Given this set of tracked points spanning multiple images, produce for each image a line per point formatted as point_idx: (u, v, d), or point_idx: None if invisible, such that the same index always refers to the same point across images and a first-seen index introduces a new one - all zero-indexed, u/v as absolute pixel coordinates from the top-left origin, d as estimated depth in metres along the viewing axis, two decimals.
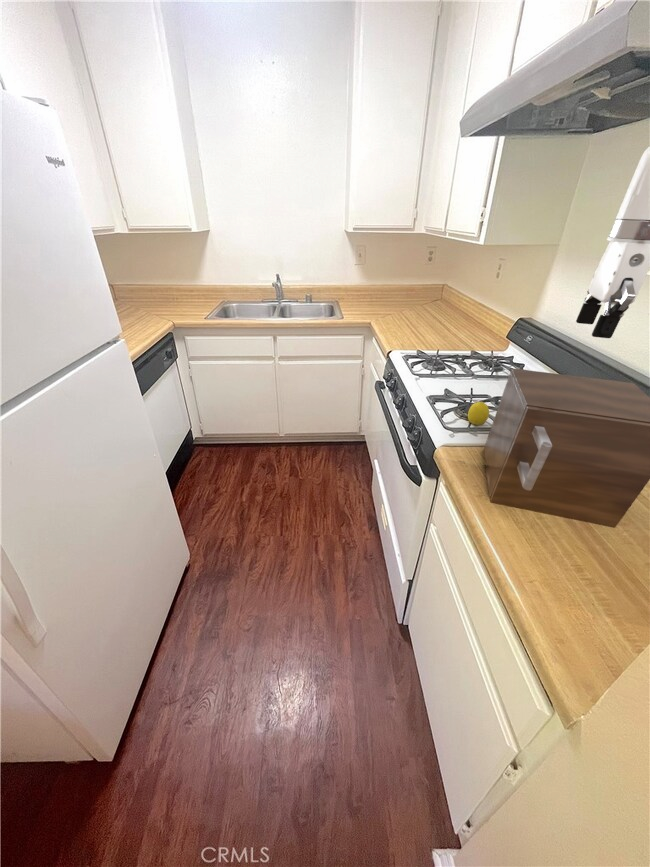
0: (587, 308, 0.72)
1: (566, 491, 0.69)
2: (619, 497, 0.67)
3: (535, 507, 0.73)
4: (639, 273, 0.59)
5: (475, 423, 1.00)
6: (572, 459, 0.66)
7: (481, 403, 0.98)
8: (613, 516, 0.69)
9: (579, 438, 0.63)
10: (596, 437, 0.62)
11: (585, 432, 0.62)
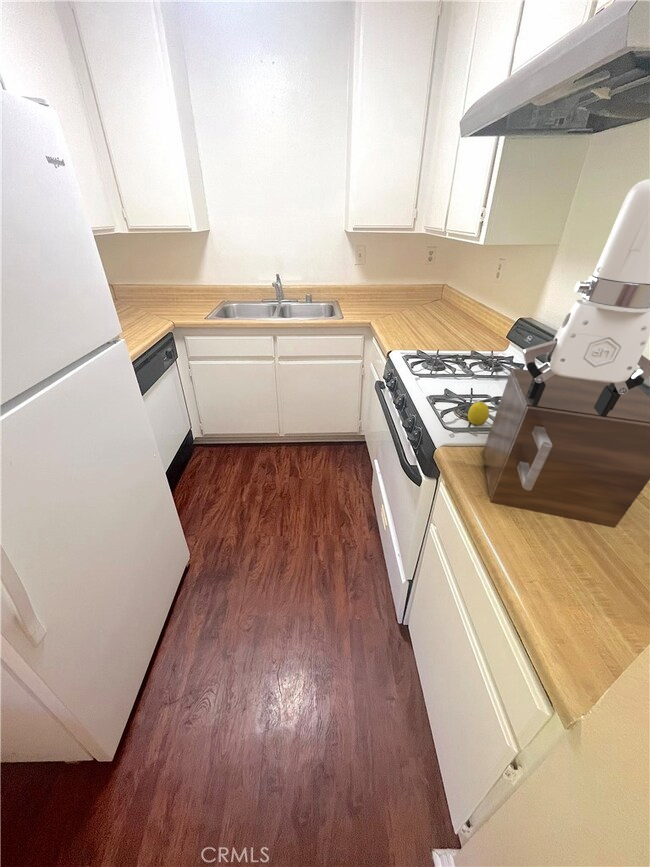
0: (604, 392, 0.53)
1: (566, 491, 0.69)
2: (619, 497, 0.67)
3: (535, 507, 0.73)
4: (561, 336, 0.49)
5: (475, 423, 1.00)
6: (572, 459, 0.66)
7: (481, 403, 0.98)
8: (613, 516, 0.69)
9: (579, 438, 0.63)
10: (596, 437, 0.62)
11: (585, 432, 0.62)
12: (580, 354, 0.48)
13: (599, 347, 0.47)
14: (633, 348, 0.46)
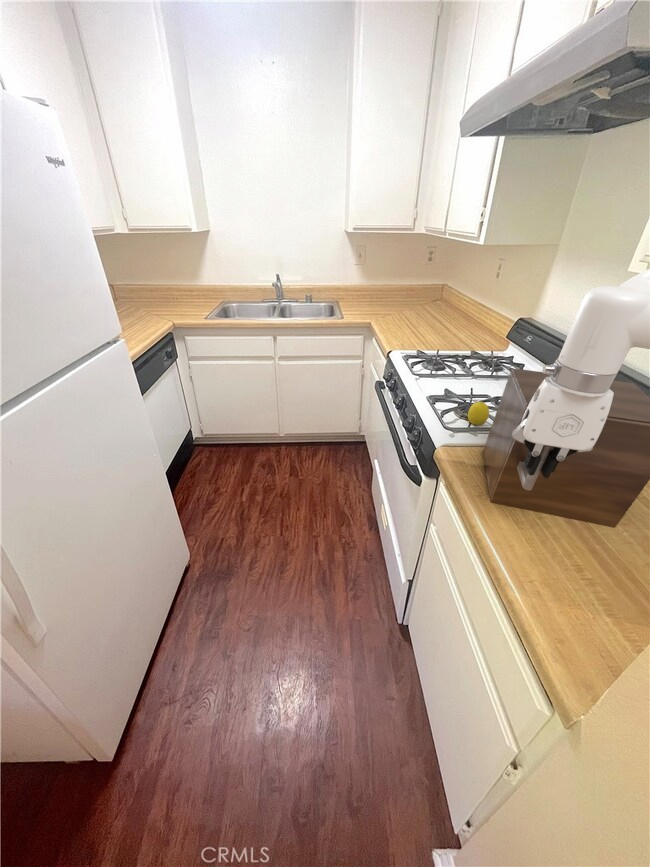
0: (547, 456, 0.60)
1: (566, 491, 0.69)
2: (619, 497, 0.67)
3: (535, 507, 0.73)
4: (532, 409, 0.55)
5: (475, 423, 1.00)
6: (572, 459, 0.66)
7: (481, 403, 0.98)
8: (613, 516, 0.69)
9: None
10: None
11: None
12: (549, 426, 0.54)
13: (565, 421, 0.53)
14: (594, 423, 0.52)
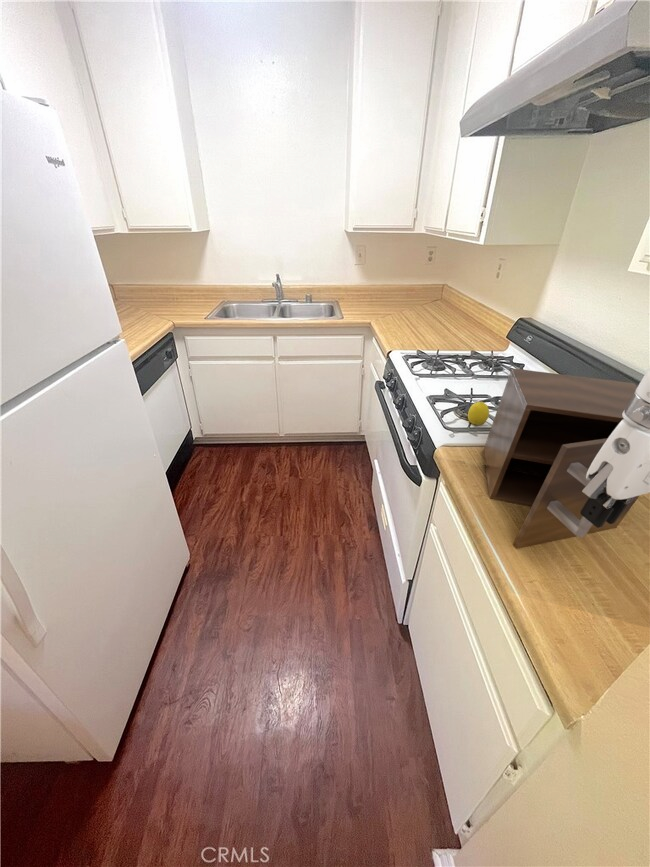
0: None
1: None
2: None
3: (556, 537, 0.67)
4: (621, 464, 0.43)
5: (475, 423, 1.00)
6: None
7: (481, 403, 0.98)
8: (617, 519, 0.69)
9: None
10: None
11: None
12: (641, 479, 0.44)
13: None
14: None
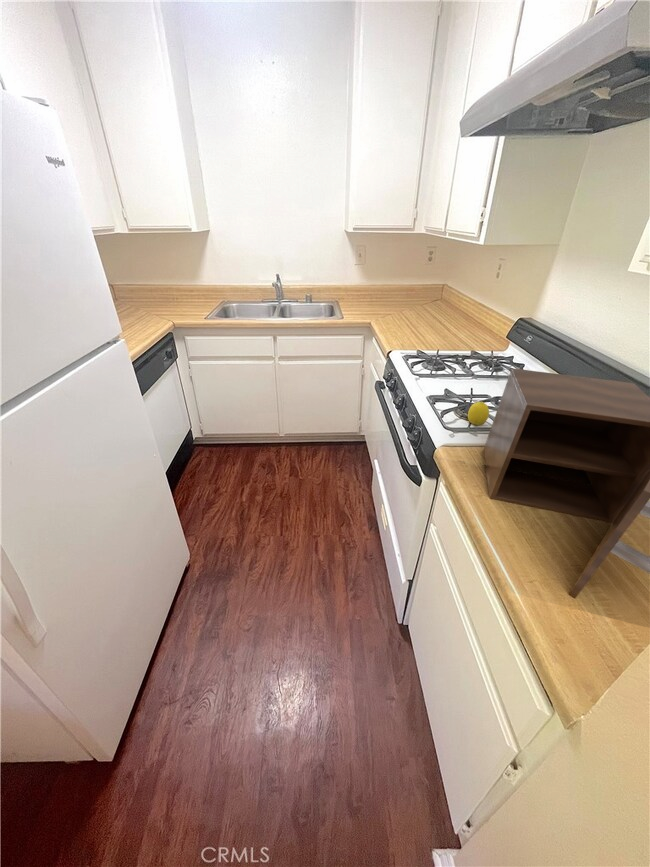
0: None
1: None
2: None
3: None
4: None
5: (475, 423, 1.00)
6: None
7: (481, 403, 0.98)
8: None
9: None
10: None
11: None
12: None
13: None
14: None
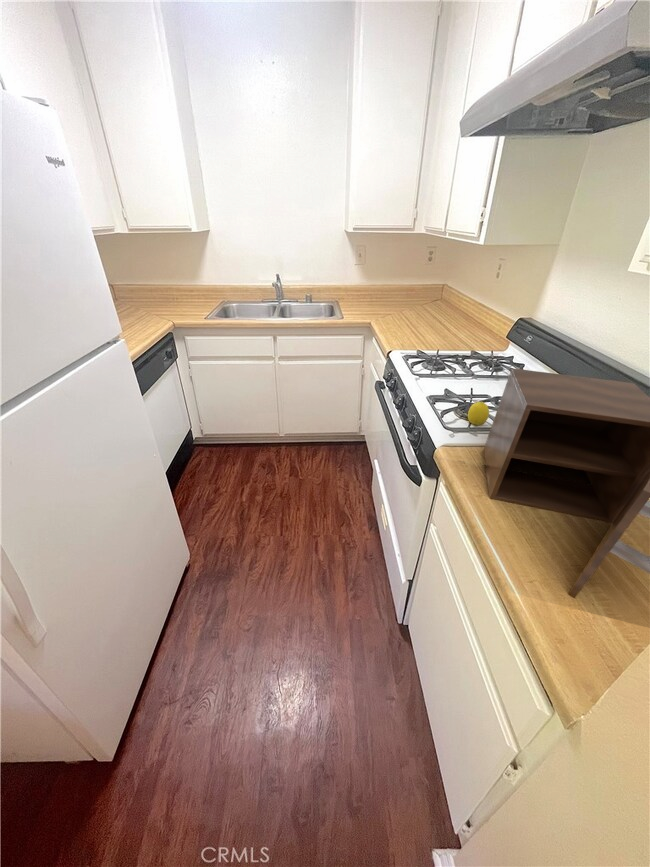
0: None
1: None
2: None
3: None
4: None
5: (475, 423, 1.00)
6: None
7: (481, 403, 0.98)
8: None
9: None
10: None
11: None
12: None
13: None
14: None
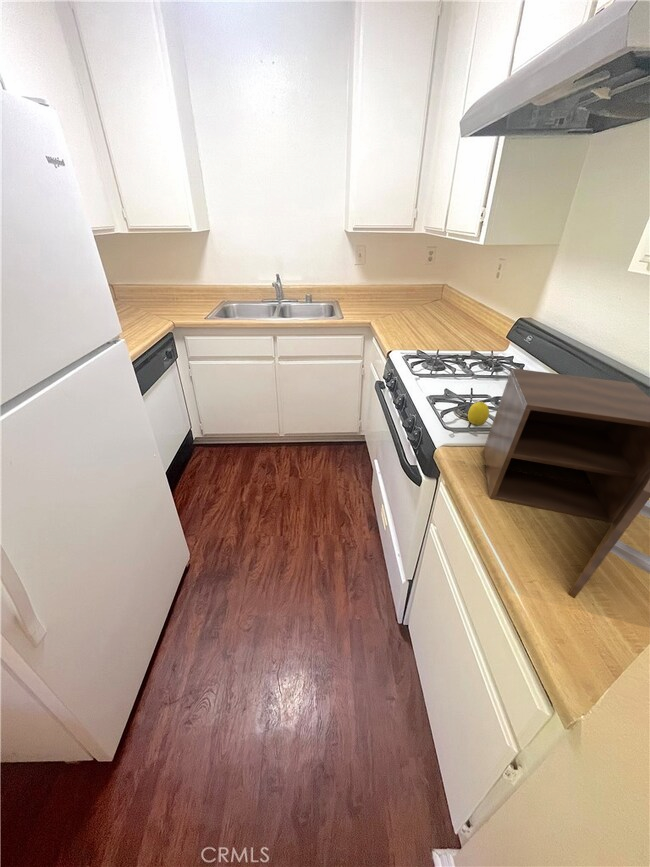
0: None
1: None
2: None
3: None
4: None
5: (475, 423, 1.00)
6: None
7: (481, 403, 0.98)
8: None
9: None
10: None
11: None
12: None
13: None
14: None
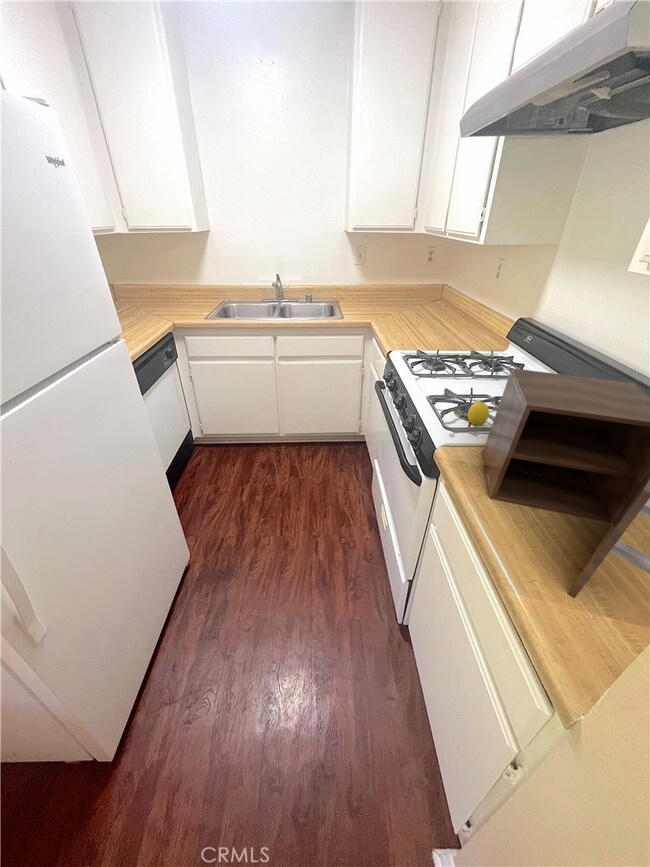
0: None
1: None
2: None
3: None
4: None
5: (475, 423, 1.00)
6: None
7: (481, 403, 0.98)
8: None
9: None
10: None
11: None
12: None
13: None
14: None
